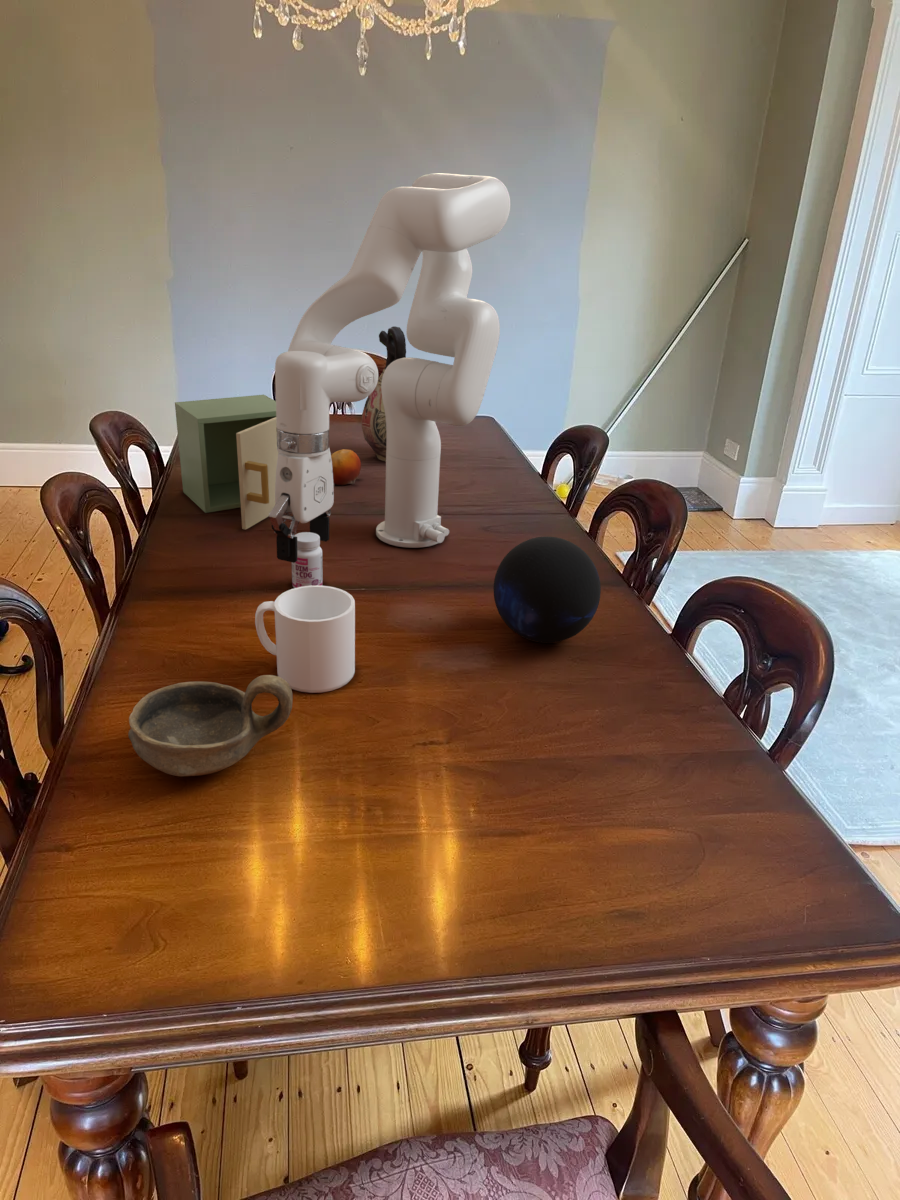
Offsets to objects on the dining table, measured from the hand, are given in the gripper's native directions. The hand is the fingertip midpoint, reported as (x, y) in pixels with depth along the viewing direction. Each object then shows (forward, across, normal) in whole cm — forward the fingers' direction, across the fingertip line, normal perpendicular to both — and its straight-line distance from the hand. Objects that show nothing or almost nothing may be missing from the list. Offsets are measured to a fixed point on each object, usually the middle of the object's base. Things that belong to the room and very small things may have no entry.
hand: (303, 549), depth 128 cm
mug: (+7, -22, -13) cm, 26 cm away
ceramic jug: (+5, +69, +16) cm, 71 cm away
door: (+6, +25, +19) cm, 32 cm away
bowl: (+8, -41, -12) cm, 44 cm away
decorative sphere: (+6, +2, -38) cm, 39 cm away
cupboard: (+6, +30, +32) cm, 45 cm away
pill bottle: (+7, +1, 0) cm, 7 cm away
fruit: (+6, +48, +19) cm, 52 cm away
